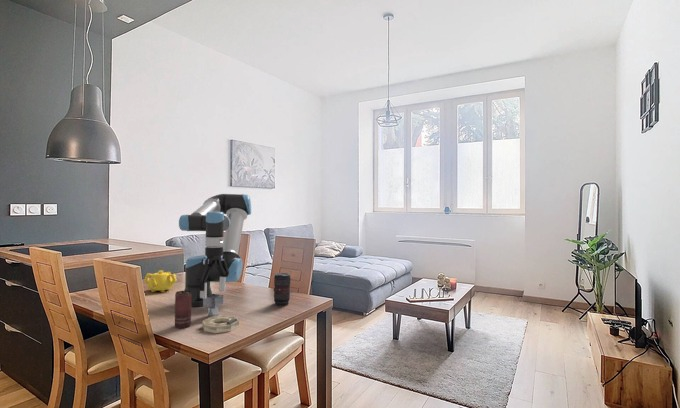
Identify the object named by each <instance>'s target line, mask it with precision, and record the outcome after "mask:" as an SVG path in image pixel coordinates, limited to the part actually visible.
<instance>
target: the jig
mask: <svg viewBox="0 0 680 408" xmlns="http://www.w3.org/2000/svg"><path fill="white" fill-rule="evenodd" d="M201 323H202V324H201V325H202V326H201V327H202V329H203V332H205V333H213V334H220V333H226V332H232V331H233V330H235V329H237V328H238V327H240V320H239V318H238V317H237V316H234V315H225V314H224V315H222V314H221V315H218V316H214V317H210V318H209V317H207V318H205V319H204V320H202V321H201Z"/></svg>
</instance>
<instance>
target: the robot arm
mask: <svg viewBox="0 0 680 408" xmlns="http://www.w3.org/2000/svg"><path fill="white" fill-rule="evenodd" d="M249 215H250V216H251V215H252V201H251V196H250V195H248V194H243V193H242V194H235V193H234V194H233V193H219V194H216V195H214V196H210V197H208V198H207V199H206V200H204V202H203V204H202V205H200V207H198V208H197V209H196V210H194V211H193V212H192V213H191V214H182V215H180V217H179V219H178V227H179V229H180V230H181V231H185V232H205V238H204V239H205V241H204V242H205V243H204V244H205V248H204V249H205V250H204V254H202V255H196V256H191V257H188V258H187V259H186V261H185V267H184V269H185V270H184V271H185V272H184V273H185V275H184V276H185V277H184V279H185V280H184V281H185V282H184V287H185V288H184V290H183V291H191V293H192V297H191V308H192V307H193V308H194V307H204V306H203V298H204V299H206V297H207V295H210V294H213V291H212V288H211V283H212V282H213V283H219V287H218V288H219V289H218V290H219V292H226V284H227V283H232V282H233V283H235V282H237V281H239V279H240V277H241V275H242V272H243V265H244V262H243V259H242V258H241V256H240V254H239V252H240V251H239V250H240V244H241V239H242V233H243V227H244V221H245V220H247V218H248V216H249Z"/></svg>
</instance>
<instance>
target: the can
mask: <svg viewBox="0 0 680 408" xmlns="http://www.w3.org/2000/svg"><path fill="white" fill-rule="evenodd" d="M174 297H175V299H174V327H175V328H176V329H186V328H189V327H190V326H191V325H192V307H191V297H192V293H191V291H184V290H179V291H176V292H175V296H174Z"/></svg>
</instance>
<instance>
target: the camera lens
mask: <svg viewBox="0 0 680 408" xmlns="http://www.w3.org/2000/svg"><path fill="white" fill-rule="evenodd" d="M273 278H274V279H273V285H274V286H273V301H274V305H275V306H278V307H280V306H281V307H284V306H288V305H289V301H290V299H291V298H290V297H291V295H290V294H291V279H292V278H291V274H290V273H287V272H278V273H275V274H274V276H273Z"/></svg>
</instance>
